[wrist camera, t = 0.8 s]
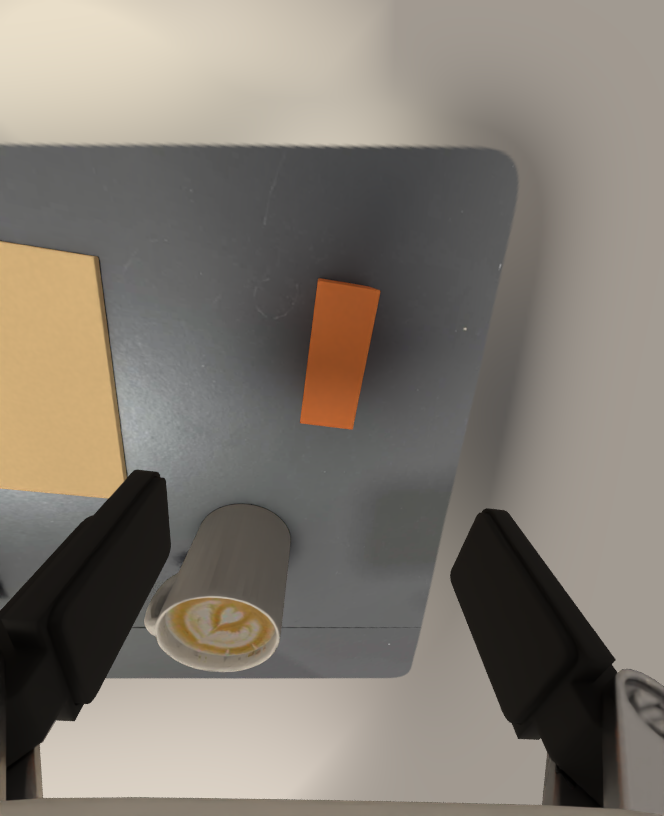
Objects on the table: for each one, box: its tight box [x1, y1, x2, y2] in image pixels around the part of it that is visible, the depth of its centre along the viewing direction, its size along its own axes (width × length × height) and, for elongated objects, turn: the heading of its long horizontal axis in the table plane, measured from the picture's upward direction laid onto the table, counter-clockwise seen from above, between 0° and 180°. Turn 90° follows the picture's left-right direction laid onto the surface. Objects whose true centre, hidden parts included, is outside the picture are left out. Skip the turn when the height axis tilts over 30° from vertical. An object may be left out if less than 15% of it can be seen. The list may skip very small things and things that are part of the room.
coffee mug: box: [144, 504, 291, 672], centre depth 30 cm, size 13×10×10 cm
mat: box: [0, 241, 127, 498], centre depth 26 cm, size 22×16×1 cm
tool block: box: [300, 278, 380, 429], centre depth 24 cm, size 10×4×5 cm, turn 171°
